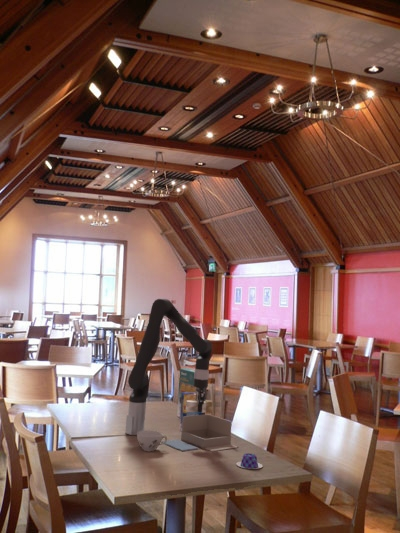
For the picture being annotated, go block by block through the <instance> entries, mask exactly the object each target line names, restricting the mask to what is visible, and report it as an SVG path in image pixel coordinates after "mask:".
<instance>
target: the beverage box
mask: <svg viewBox="0 0 400 533" xmlns="http://www.w3.org/2000/svg"><path fill="white" fill-rule="evenodd" d="M195 399H196V393H189V392H182V395H181V411H180V417H179V434H180V435H181V434H182V422H183V417H185V416H195V415H202V412H187V411H186V400H191V401H196V400H195ZM201 401H202V400H201Z"/></svg>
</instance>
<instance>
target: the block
mask: <svg viewBox="0 0 400 533" xmlns="http://www.w3.org/2000/svg"><path fill="white" fill-rule="evenodd" d="M200 402H202V401H200ZM186 411H187V412H198V401H191V400H186ZM202 412H205V414H208V413H209V414H212V412H213V401H212V400H211V399H206V400H205V401H204V404H203V405H202Z"/></svg>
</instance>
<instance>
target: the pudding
mask: <svg viewBox="0 0 400 533" xmlns="http://www.w3.org/2000/svg"><path fill="white" fill-rule="evenodd" d="M236 466H238V467H240V468H242V469H247V470H248V469H249V470H252V469H253V470H257V469H261V468H263V464H262V463H259V462H258V458H257V454H255V453H254V454H253V453H249V452H247V453H244V454H243V456H242V459H241V461H238V462H236Z"/></svg>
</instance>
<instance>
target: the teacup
mask: <svg viewBox="0 0 400 533" xmlns="http://www.w3.org/2000/svg"><path fill="white" fill-rule="evenodd" d="M136 437H137V442H138V444H139V446H140V448H142V451H145V452H154V451H155V450H156V449H157V448H158V447H159V446H162V445H166V444H165V443H166V441H168V436H167V435H165V434H163V433H162V432H160V431H158V430H153V429H152V430H151V429H146V430H145V429H144V431H139V432H137V435H136ZM163 439H165V440H164V441H165V442H163V443H161V442H162V440H163Z"/></svg>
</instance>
